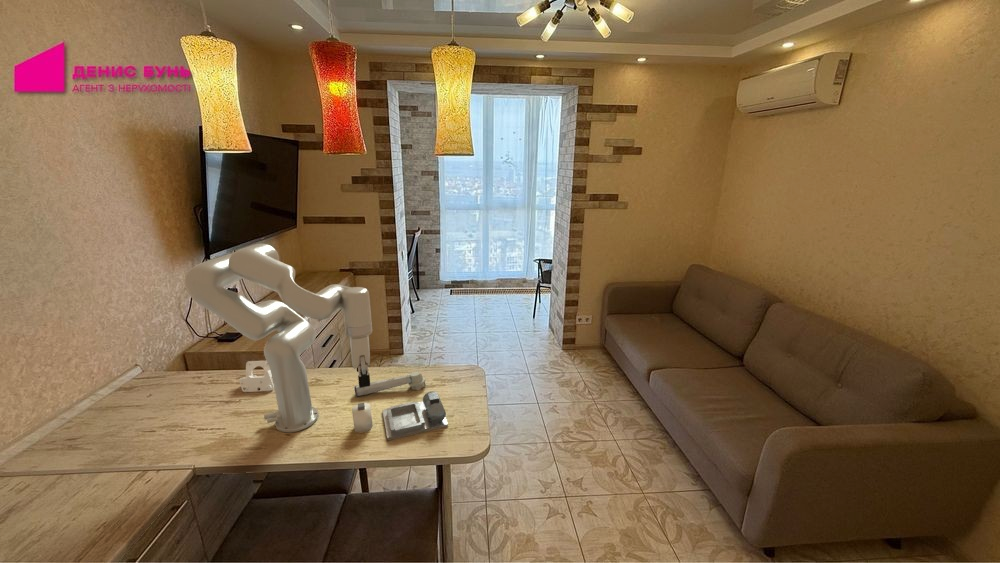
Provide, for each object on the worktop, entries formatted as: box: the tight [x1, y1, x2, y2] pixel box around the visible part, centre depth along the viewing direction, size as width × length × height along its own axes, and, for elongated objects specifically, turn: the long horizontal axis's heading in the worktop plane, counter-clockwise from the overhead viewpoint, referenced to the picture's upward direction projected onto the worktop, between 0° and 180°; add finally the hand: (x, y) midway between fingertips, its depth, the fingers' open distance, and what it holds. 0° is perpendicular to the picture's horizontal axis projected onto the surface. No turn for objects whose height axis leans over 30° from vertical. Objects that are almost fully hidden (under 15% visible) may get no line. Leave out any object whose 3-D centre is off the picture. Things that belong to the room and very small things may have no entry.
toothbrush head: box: [354, 371, 426, 398], centre depth 145 cm, size 5×7×25 cm
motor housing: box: [382, 390, 449, 441], centre depth 128 cm, size 19×15×8 cm
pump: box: [351, 402, 374, 434], centre depth 124 cm, size 6×6×8 cm
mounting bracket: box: [238, 360, 275, 393], centre depth 146 cm, size 12×6×11 cm, turn 97°
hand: (363, 378), depth 122 cm, fingers open, 9 cm apart
